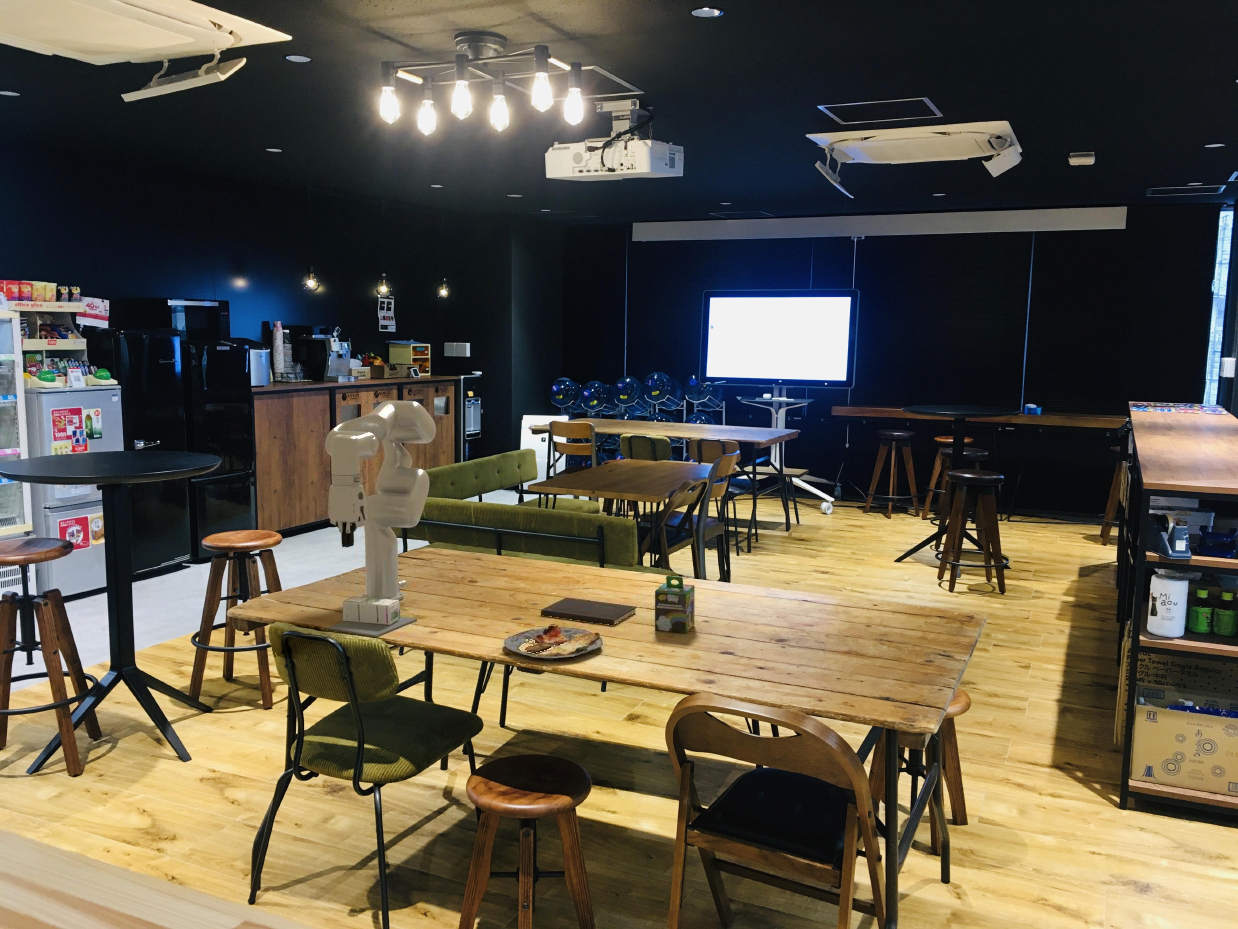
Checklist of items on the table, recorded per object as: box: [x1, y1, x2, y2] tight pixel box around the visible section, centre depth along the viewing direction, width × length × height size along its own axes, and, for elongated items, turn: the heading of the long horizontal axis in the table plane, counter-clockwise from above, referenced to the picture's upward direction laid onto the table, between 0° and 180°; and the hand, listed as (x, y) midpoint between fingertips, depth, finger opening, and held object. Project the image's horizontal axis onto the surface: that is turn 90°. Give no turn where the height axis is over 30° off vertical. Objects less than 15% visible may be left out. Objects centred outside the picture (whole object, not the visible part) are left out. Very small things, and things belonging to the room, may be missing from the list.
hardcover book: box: [540, 597, 638, 626], centre depth 280 cm, size 16×23×2 cm
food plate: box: [503, 624, 604, 661], centre depth 247 cm, size 25×23×4 cm
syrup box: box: [342, 596, 401, 625], centre depth 267 cm, size 6×6×14 cm
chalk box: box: [654, 575, 696, 635], centre depth 266 cm, size 9×9×15 cm
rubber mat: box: [327, 615, 418, 638], centre depth 265 cm, size 18×16×1 cm
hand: (347, 546), depth 267 cm, fingers closed
